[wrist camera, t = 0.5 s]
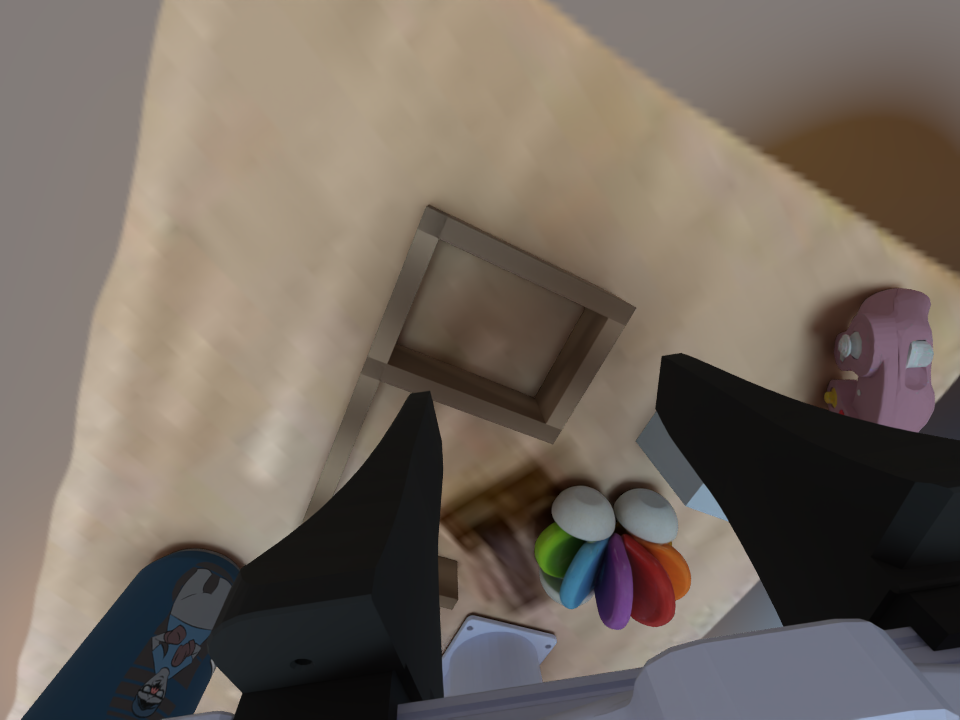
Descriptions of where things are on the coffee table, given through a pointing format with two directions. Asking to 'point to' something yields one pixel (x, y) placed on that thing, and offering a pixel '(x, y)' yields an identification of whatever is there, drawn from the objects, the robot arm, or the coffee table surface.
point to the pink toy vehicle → (886, 362)
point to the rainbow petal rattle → (613, 556)
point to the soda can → (146, 646)
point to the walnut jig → (465, 388)
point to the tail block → (676, 469)
